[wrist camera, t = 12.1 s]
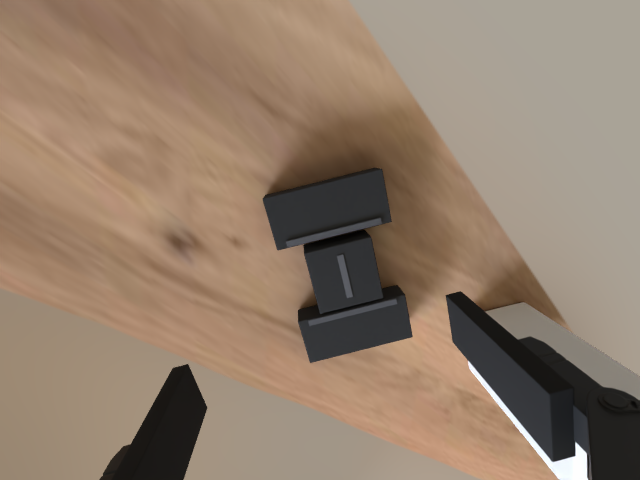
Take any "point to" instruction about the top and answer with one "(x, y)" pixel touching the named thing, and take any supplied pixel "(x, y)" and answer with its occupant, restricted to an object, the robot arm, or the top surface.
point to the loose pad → (343, 271)
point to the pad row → (327, 221)
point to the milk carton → (576, 350)
